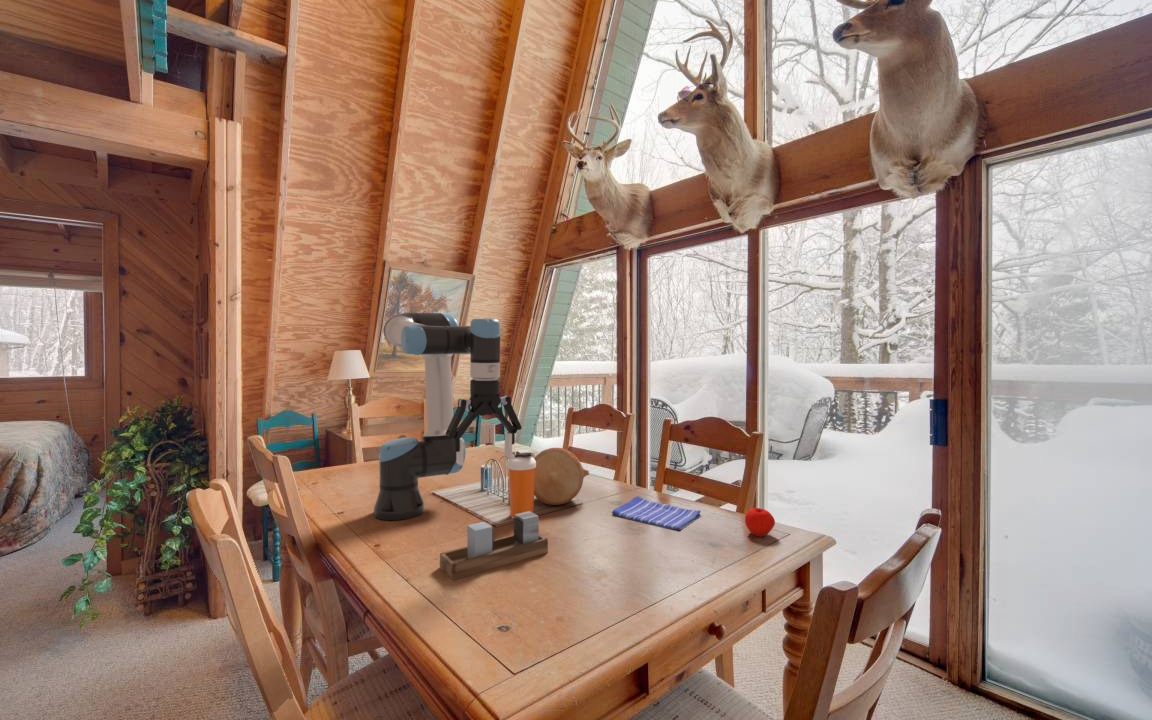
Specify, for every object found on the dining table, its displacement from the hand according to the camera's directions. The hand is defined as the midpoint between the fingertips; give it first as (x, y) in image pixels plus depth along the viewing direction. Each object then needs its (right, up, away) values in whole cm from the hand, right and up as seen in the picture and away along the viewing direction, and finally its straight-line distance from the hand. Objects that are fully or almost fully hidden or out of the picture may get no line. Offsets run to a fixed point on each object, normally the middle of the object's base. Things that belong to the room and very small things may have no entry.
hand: (484, 460), depth 132 cm
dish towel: (+49, -24, +29) cm, 62 cm away
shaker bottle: (+7, -23, +28) cm, 37 cm away
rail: (+4, -24, -4) cm, 25 cm away
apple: (+76, -24, +13) cm, 81 cm away
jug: (+17, -23, +48) cm, 56 cm away
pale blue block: (0, -23, -7) cm, 24 cm away
